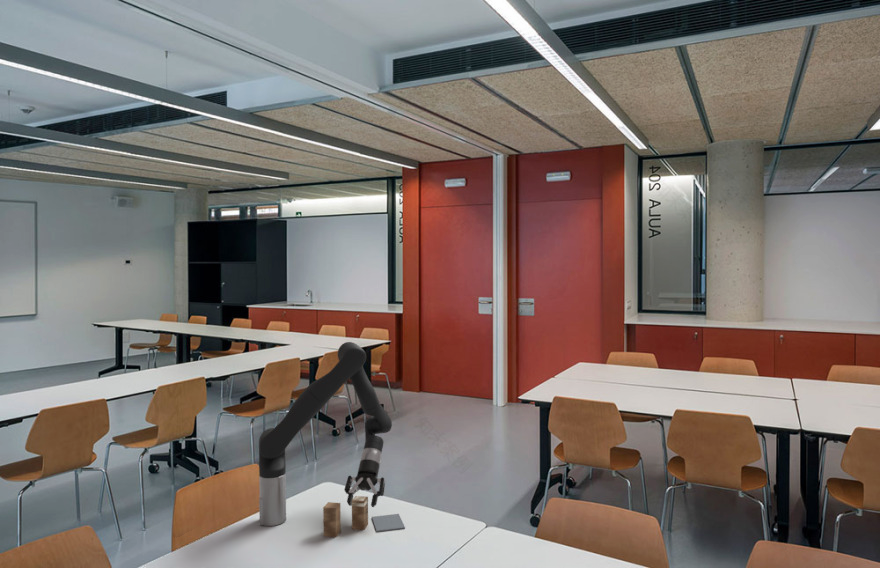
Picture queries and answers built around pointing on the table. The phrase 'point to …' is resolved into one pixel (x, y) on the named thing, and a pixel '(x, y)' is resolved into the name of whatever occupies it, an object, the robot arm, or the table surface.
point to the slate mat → (388, 522)
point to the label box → (360, 512)
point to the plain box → (332, 519)
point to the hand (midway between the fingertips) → (361, 505)
